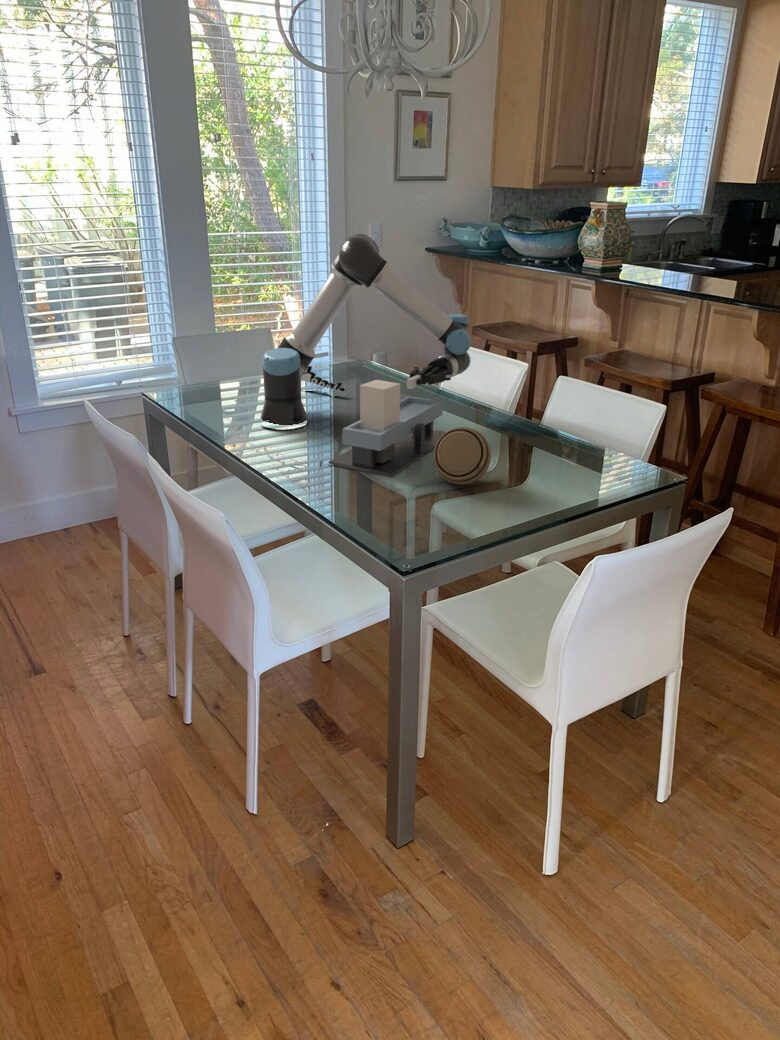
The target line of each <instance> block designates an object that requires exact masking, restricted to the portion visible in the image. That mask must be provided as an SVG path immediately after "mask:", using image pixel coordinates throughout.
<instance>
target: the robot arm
mask: <svg viewBox="0 0 780 1040" xmlns="http://www.w3.org/2000/svg"><path fill="white" fill-rule="evenodd" d="M330 267H331V272H330V274H329V276H328V278H327V279H326V281H325V282H324V283H323V286H321V288H320V289H319V291H318V293H317V295H316V296H315V297H314V299H313V301H312V302H311V304H310V305H309V307H308V308H307V310H306V311H305V313H304V314H303V316H302V318H301V319H300V321H299V323H298V325H297V326H296V327H295V329H294V330H293V331H292V333H290V334H285V336H284V337H283V338H282V341H281V342H280V343H279V345H278V347H277V348H276V347H275V348H272V349H269V350H267V351H266V352H264V354H263V356H262V363H261V364H262V365H261V366H262V369H263V370H262V373H263V391H264V392H263V393H264V403H263V407H262V409H261V410H262V411H261V414H260V417H261V419H262V420H263V421H266V420H269V421H266V422H269V423H273V424H279V425H293V424H299V423H302V422H304V421H306V420H307V421H308V415H307V413H306V410H305V407H304V403H303V400H302V391H301V377H302V375H303V374H304V373H305V371H306V369H307V368H308V367H309V366H311V363H312V362H313V360H314V358H315V357H316V353H315V348H316V347H317V346H318V343H319V342H320V341H321V339H322V338H323V336H324V334H325V333H326V332H327V331H328V329H329V327H330V326H331V324H332V322H333V321H334V320H335V318H336V316H338V314H339V312H340V311H341V309H342V308H343V306H344V304H345V303H346V301H347V300H348V299H349V297H350V295H351V294H352V292H353V291H354V289H356V288H360V287H362V286H365V287H366V288H367V289H369V290H370V289H374V290H375V291H377V293H379V294H380V295H381V296H383V297H384V298H385V299H387V300H388V301H389V302H390V303H391V304H393V305H394V306H395V307H396V308H398V309H399V310H400V311H401V312H403V313H404V314H405V315H407V316H408V317H409V318H410V319H412V320H413V321H415V323H417V324H418V325H419V326H420V327H421V328H423V329H424V330H425V331H426V332H428V333H429V334H430V335H431V336H433V337H434V338H436V339H437V340H438V341H439V342H440V343H441V344H442V345H444V346H443V355H441V356H439V357H437V358H433V359H432V360H431V361H430V362H429V363H428V365H426V366H425V367H423V368H422V369H420V367H417V366H414V368H413V370H412V371H410V373H409V378H407V380H406V389H410V390H412V389H415V388H417V387H418V386H421V385H426V384H427V385H428V386H430V385H433V384H438V383H439V384H441V383H443V382H445V381H447V382H448V381H451V380H452V378H454V377H455V376H458V375H460V374H463V373H464V372H465V371H467V370H468V369H469V367H470V366H471V359H472V358H471V357H470V354H469V352H468V351H469V350H470V347H471V343H472V338H471V335H470V333H469V317H468V315H466V314H463V313H451V314H449V313H448V314H446V313H445V312H444V311H442V310H441V309H440V308H439V307H438V306H436V305H435V303H433V302H431V300H429V299H428V298H427V297H425V296H424V295H423V294H422V293H420V291H418V290H417V289H416V288H414V286H412V285H411V284H410V283H408V282H407V281H406V280H405V279H404V278H402V276H399V275H398V274H397V273H396V272H395V271H394V270H393V269H392V268H390V267H389V262H388V261H387V260H386V259H384V258H383V256H381V254H380V249H379V247H378V245H377V243H376V241H375V240H373V239H372V238H371V237H370V236H369V235H367V234H363V233H356V234H353V235H351V236H349V237H347V238H346V239H345V241H344V243H342V245H341V247H340V248H339V251H338V253H337V254H336V256H335V257H334V259H333V261H332V262H331V264H330Z"/></svg>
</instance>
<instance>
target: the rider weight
mask: <svg viewBox="0 0 780 1040" xmlns="http://www.w3.org/2000/svg"><path fill="white" fill-rule="evenodd" d="M359 392H360V393H359V406H360V407H359V412H360V413H359V417H360V418H359V420H360V427H362V428H366V429H371V430H376V431H380V432H382V431H384V430H386V429H388V428H390V427H391V426H393V425H395V424H397V423H399V422H400V400H401V383H398V382H391V381H386V380H381V379H374V380H372V381H369V382H366V383H362V384H360V385H359Z"/></svg>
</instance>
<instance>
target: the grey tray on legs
mask: <svg viewBox="0 0 780 1040" xmlns="http://www.w3.org/2000/svg"><path fill="white" fill-rule="evenodd" d="M443 403H444V402H443V400H439V399H438V400H437V399H431V398H425V397H424V398H423V397H417V396H411V395H407V396H405V397H404V398H401V399H400V422H399V423H397V424H395V425H393V426H391V427H390V428H388V429H386V430H384V431H382V432H380V431H376V430H371V429H366V428H362V427H360V419H359V420H357V421H354V423H351V424H350V425H348V426H345V427H343V428H342V433H341V436H342V439H341V440H342V445H344V446H345V445H346V446H351V447H352V446H356V447H361V448H367V449H372V450H375V462H379V463H384V462H386V461H387V460H389V459H391V458H392V457H394V455H395V442H397V441H399V440H400V439H402V438H404V437H406V436H407V435H409V434H411V433H412V432H414V431H415V425H416V424H418V423H423V424H425V425H426V424H428V423H430V422H431V421H433V422H434V420H436V419H438V418H440V417H442V416H443V414H444V413H443V410H444V409H443V408H444V404H443Z"/></svg>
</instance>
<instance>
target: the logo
mask: <svg viewBox="0 0 780 1040" xmlns="http://www.w3.org/2000/svg"><path fill="white" fill-rule="evenodd" d="M312 369H313V368H312V365H309V366H308V368H307V369H306V371H305V373H304V374H303V375H302V377H301V380H304V381H307V382H310V383H311V382H312V383H314V384H317V385H320V386H323V387H327V388H328V387H329V388H331V389H336V390H338V391H344V390H345V391H346V389H345V388H344V387H342V385H343V383H342V382H341V381H340V382H337V383H332V382H329V380H326V379H323V378H322V377H320V376H316V375H317V374H316V373H315V372H314V371H312ZM338 388H339V389H338Z"/></svg>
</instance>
